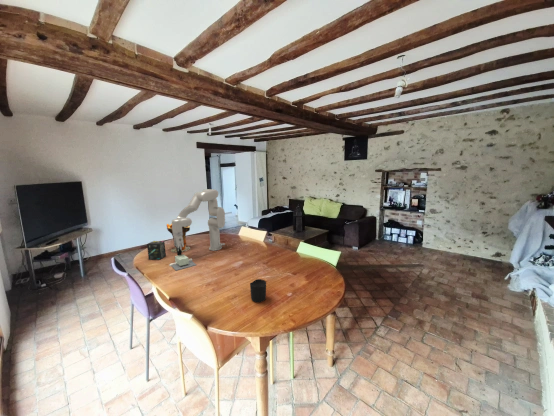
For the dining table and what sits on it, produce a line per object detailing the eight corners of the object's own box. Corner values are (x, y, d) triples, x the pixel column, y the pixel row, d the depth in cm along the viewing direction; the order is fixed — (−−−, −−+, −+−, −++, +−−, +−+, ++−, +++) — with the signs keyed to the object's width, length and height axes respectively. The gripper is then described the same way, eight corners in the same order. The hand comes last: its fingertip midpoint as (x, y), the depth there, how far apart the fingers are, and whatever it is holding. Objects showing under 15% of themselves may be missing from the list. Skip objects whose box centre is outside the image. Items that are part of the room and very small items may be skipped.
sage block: (183, 254, 192) (188, 257, 183) (183, 259, 193) (188, 263, 184) (174, 256, 187) (179, 260, 178) (175, 261, 188) (180, 266, 179)
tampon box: (166, 256, 206) (164, 240, 204) (160, 260, 197) (158, 243, 195) (155, 255, 207) (153, 240, 205) (148, 259, 198) (146, 243, 196)
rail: (191, 260, 195) (191, 258, 195) (192, 260, 194) (192, 259, 194) (169, 265, 184) (169, 264, 184) (170, 266, 182) (170, 264, 182)
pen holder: (267, 301, 130) (267, 285, 129) (251, 304, 128) (250, 287, 127) (265, 293, 139) (264, 278, 138) (249, 295, 137) (249, 280, 136)
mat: (191, 261, 193) (191, 260, 193) (196, 265, 184) (196, 264, 184) (171, 266, 183) (171, 265, 183) (176, 270, 174) (175, 270, 174)
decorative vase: (188, 252, 214) (185, 223, 210) (164, 253, 214) (160, 225, 210) (196, 245, 234) (193, 219, 230) (175, 247, 235) (171, 220, 231)
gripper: (185, 234, 184) (187, 256, 187) (179, 231, 195) (181, 251, 198) (175, 236, 179) (177, 258, 182) (170, 233, 191) (172, 253, 193)
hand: (179, 254), depth 190 cm, fingers closed
